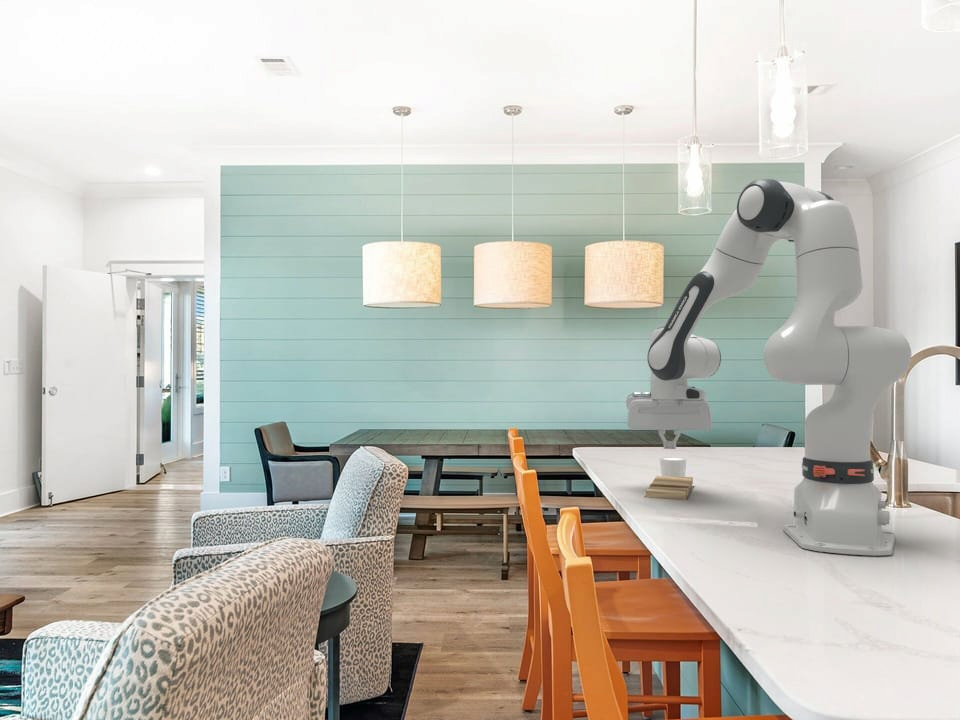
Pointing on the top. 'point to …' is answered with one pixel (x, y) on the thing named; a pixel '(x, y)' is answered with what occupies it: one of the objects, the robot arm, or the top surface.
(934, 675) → the top surface
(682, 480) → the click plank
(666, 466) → the white ramekin cup
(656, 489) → the laid strip
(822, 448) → the robot arm
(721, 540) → the top surface
